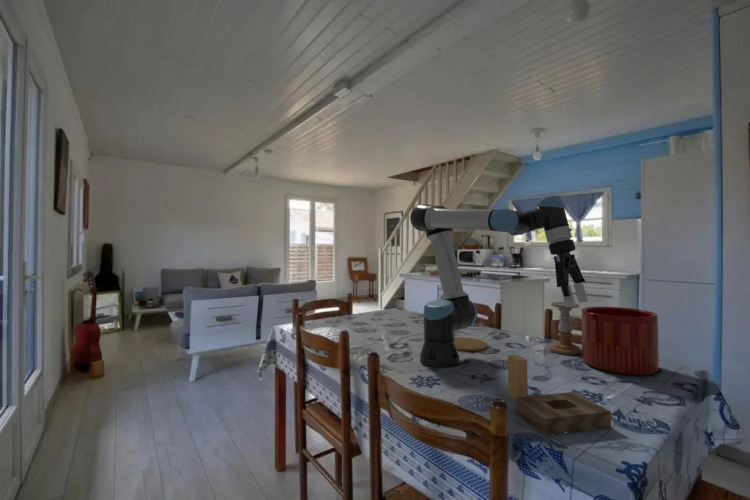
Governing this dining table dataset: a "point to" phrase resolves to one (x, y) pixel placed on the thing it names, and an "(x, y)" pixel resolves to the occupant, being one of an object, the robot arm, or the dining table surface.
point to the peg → (517, 376)
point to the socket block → (562, 413)
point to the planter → (620, 340)
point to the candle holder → (565, 332)
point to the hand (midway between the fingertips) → (577, 304)
